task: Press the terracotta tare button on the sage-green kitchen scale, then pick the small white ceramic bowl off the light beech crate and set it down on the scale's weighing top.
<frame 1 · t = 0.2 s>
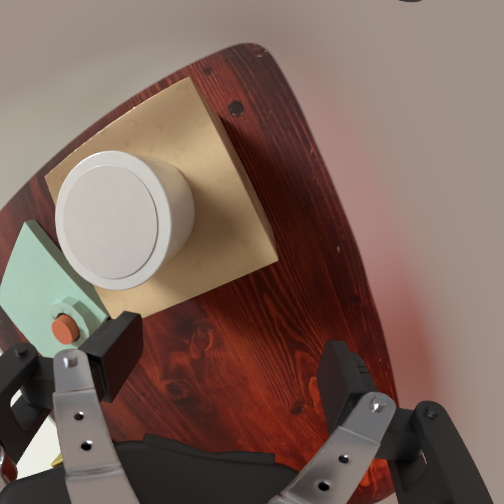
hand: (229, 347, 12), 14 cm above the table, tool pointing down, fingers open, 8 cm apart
crate: (187, 198, 24), on the table
ramekin: (142, 211, 15), point 10 cm above the table, touching crate
scale: (49, 301, 28), on the table
tare button: (65, 329, 24), point 4 cm above the table, slide at 0.1 cm
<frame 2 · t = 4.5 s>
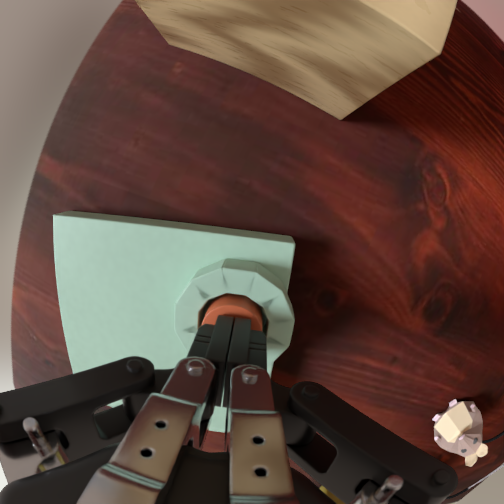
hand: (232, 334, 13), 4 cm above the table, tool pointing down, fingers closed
crate: (294, 10, 12), on the table
mouse figurine: (455, 418, 20), on the table
scale: (163, 329, 18), on the table
tare button: (232, 325, 14), point 3 cm above the table, slide at -0.4 cm, touching gripper
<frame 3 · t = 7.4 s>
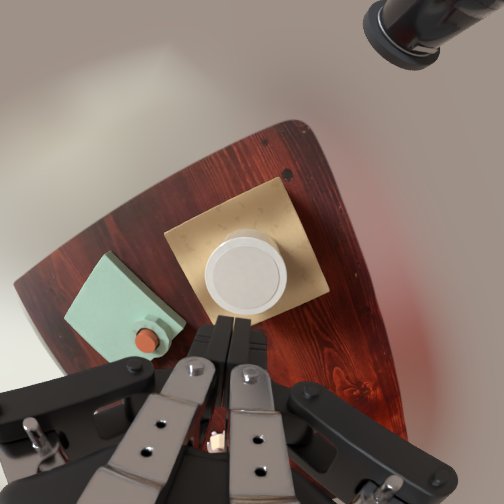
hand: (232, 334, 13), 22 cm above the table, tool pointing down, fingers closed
crate: (251, 240, 35), on the table
ramekin: (247, 263, 25), point 10 cm above the table, touching crate
mouse figurine: (225, 443, 43), on the table
scale: (121, 318, 38), on the table
tare button: (146, 341, 34), point 4 cm above the table, slide at 0.1 cm
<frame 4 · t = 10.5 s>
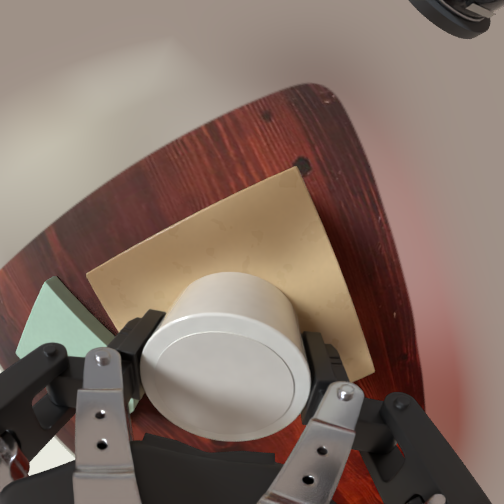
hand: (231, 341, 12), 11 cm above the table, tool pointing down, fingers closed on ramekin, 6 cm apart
crate: (245, 268, 23), on the table
ramekin: (233, 333, 13), point 10 cm above the table, touching crate, gripper
scale: (78, 360, 26), on the table
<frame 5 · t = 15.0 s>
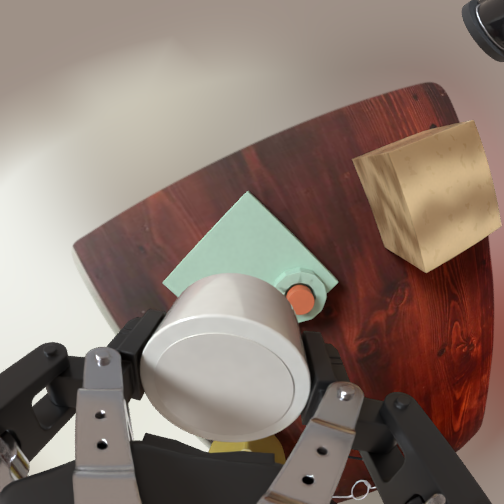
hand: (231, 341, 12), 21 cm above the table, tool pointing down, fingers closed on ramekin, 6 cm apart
flower pot: (248, 428, 40), on the table
crate: (407, 187, 30), on the table
ramekin: (233, 334, 13), point 20 cm above the table, touching gripper
scale: (250, 278, 33), on the table
tare button: (300, 299, 30), point 4 cm above the table, slide at 0.1 cm
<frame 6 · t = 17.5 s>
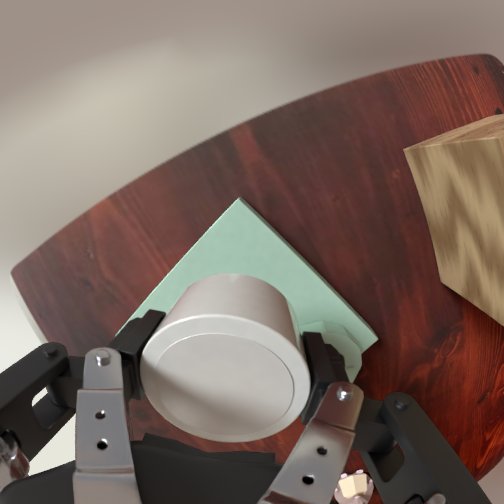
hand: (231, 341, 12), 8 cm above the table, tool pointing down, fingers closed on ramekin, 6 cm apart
crate: (473, 194, 18), on the table
ramekin: (233, 334, 13), point 8 cm above the table, touching gripper
mouse figurine: (350, 483, 27), on the table
scale: (244, 331, 21), on the table
when the fingers open (3 cm above the table, at t = 19.6 s): ramekin stays where it is, resting on scale.
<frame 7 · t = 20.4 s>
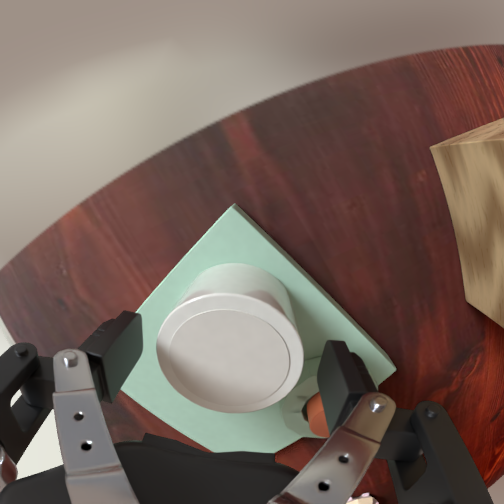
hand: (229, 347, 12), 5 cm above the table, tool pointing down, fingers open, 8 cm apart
crate: (502, 201, 14), on the table
ramekin: (236, 318, 15), point 2 cm above the table, touching scale
scale: (240, 362, 18), on the table
tare button: (332, 413, 14), point 4 cm above the table, slide at 0.1 cm
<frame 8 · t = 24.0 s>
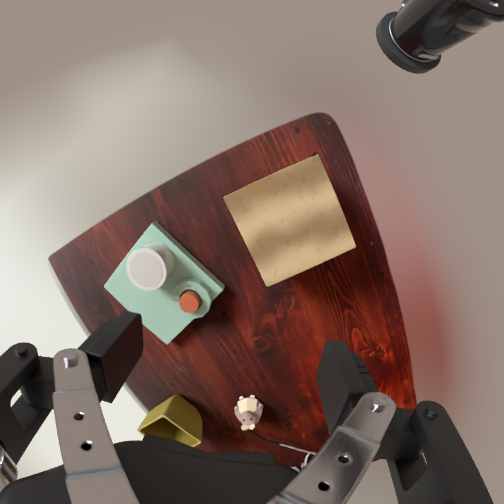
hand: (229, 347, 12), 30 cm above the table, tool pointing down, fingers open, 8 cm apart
flower pot: (179, 404, 50), on the table
crate: (285, 212, 40), on the table
ramekin: (155, 261, 41), point 2 cm above the table, touching scale
mouse figurine: (251, 408, 49), on the table
scale: (162, 284, 43), on the table
tare button: (189, 301, 40), point 4 cm above the table, slide at 0.1 cm
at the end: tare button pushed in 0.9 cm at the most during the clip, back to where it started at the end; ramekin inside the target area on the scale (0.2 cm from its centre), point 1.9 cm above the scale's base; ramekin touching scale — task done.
